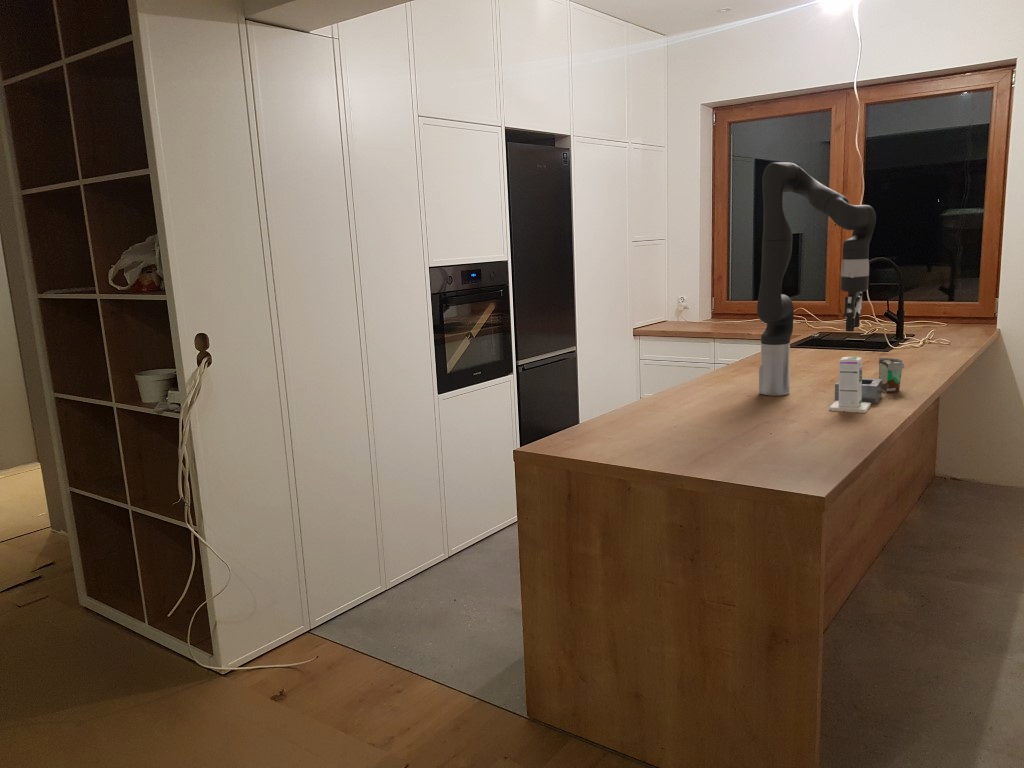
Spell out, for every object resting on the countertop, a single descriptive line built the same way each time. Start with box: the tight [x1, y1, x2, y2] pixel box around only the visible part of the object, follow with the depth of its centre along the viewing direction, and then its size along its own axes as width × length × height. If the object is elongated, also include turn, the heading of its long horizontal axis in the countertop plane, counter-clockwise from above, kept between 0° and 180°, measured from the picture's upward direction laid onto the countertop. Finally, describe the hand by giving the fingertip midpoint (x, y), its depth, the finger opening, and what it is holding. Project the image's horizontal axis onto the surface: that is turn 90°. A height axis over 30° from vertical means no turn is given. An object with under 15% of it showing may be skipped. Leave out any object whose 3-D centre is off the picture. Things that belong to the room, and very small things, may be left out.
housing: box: [834, 377, 883, 405], centre depth 243 cm, size 12×12×6 cm
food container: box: [878, 357, 905, 394], centre depth 252 cm, size 12×6×10 cm, turn 168°
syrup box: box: [838, 356, 863, 407], centre depth 230 cm, size 6×6×14 cm
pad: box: [829, 400, 872, 414], centre depth 232 cm, size 10×10×1 cm
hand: (852, 329), depth 227 cm, fingers open, 8 cm apart
